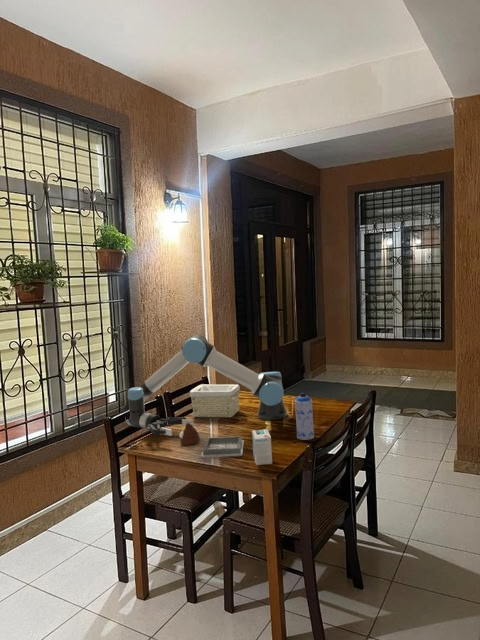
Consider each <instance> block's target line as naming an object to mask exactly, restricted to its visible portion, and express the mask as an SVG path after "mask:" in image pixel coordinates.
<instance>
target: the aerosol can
mask: <svg viewBox="0 0 480 640" xmlns="http://www.w3.org/2000/svg"><path fill="white" fill-rule="evenodd" d="M294 406H295V407H294V409H295V420H296V421H295V422H296V424H295V425H296V439H298V440H301V441H302V440H305V441H307V440H312V439H314V438H315V432H314V415H313V400H312V398H311V397H310V396H308V395H306V392H300V395H298V396H297V397H296V399H294Z"/></svg>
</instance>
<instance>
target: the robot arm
mask: <svg viewBox="0 0 480 640" xmlns="http://www.w3.org/2000/svg"><path fill="white" fill-rule="evenodd" d="M189 363H191V364H196V365H198V366H201V367H202V368H205V367H208V368H210V369H212V370H214V371H216V372H217V373H220V374H221V375H223V376H225V377H226V378H229V379H230V380H232V381H233V382H236V383H237V384H238V385H240V386H243V388H246V389H248V390H249V391H250V393H251V395H252V396H254V397H256V398H258V399H259V406H258V410H257V417H258V419H260V420H264V421H275V420H276V421H277V420H282V419H284V418H286V417H288V411H287V408H286V406H285V403H284V398H283V397H284V394H285V392H284V387H283V383H282V378H283V377H282V373H281V372H280V371H266V372H260V373H257V372H255V371H253V370H252V369H250V368H249V367H246V366H244V365H243V364H241V363H239V362H238V361H235V360H233V359H232V358H230V357H229V356H226V355H225V354H223V353H221V352H220V351H218V350H216V347H215V345H213V344H212V343H210V342H209V341H208V340H207V338H206V337H205V336H203V335H201V334H194V335H191V336H190V337H189V338H188V339H186V340H185V342H184V343H183V345H182V346H181V347H180V349H179V351H178V352H177V353H175V355H174V356H172V357H171V358H170V359H169V360H168V361H166V363H165V364H163V365H162V366H161V367H160V368H159V369H157V370H156V371H155V372H154V373H153V374H152V375H151V376H150V377H149V378H147V379H146V380H144V381H143V382H142V383H141V384H140V385H139V386H136V387H131V388H128V389H127V401H128V412H129V411H130V417H129V419H127V420H126V419H125V422H126V423H127V425H129V426H132V427H133V428H134V427H135V428H139V429H146V430H147V431H148V432H151V433H152V435H154V436H156V435H157V436H161V435H165V436H173V429H171V428H167V427H170V426H177V425H182V426H184V427H186V424H187V423H189V424H191V425H192V426H193V427H194V421H193V420H191V419H190V420H189V419H187V418H186V416H181V417H178V416H174V417H172V416H167V417H166V418H162V417H161V416H160V415H158V414H153V413H148V412H147V413H146V411H145V408H146V407H145V402H146V401H147V399H148V398H149V397H151V396H152V395H153V394H154V393H155V392H157V391H158V390H159V389H160V388H161V387H163V385H164V384H166V383H168V381H169V380H170V379H172V378H173V377H175V375H176V374H178V373H179V372H180V371H181V370H182V369H183V368H185V367H186V366H187V365H188V364H189ZM133 412H135V413H133Z"/></svg>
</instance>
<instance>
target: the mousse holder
mask: <svg viewBox="0 0 480 640" xmlns="http://www.w3.org/2000/svg"><path fill="white" fill-rule="evenodd" d="M242 438H243V437H242V435H236V436H234V435H233V436H232V435H231V436H216V437H215V436H214V437H213V436H212V437H206V440H205V443H204V446H203V449H202V452H201V454H200V457H201V459H202V458H205V459H206V458H207V459H208V458H220V457H222V458H223V457H240V456H241V457H242V456H243V453H244V444H245V443H244V442H245V440H244V439H242Z"/></svg>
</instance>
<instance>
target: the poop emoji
mask: <svg viewBox="0 0 480 640" xmlns="http://www.w3.org/2000/svg"><path fill="white" fill-rule="evenodd" d="M184 427H185V428H184V429H182V430H181V432H180V433H179V434H178V437H179V438H180V443H181V445H182V446H185V447H187V446H188V447H189V446H190V447H191V446H195V445H196V444H198V442H199V441H200V436H199V433H198V431H197V429H196V428H195V427H194V425H193V426H192V425H191V424H189V423H187V424H186V426H184Z"/></svg>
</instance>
